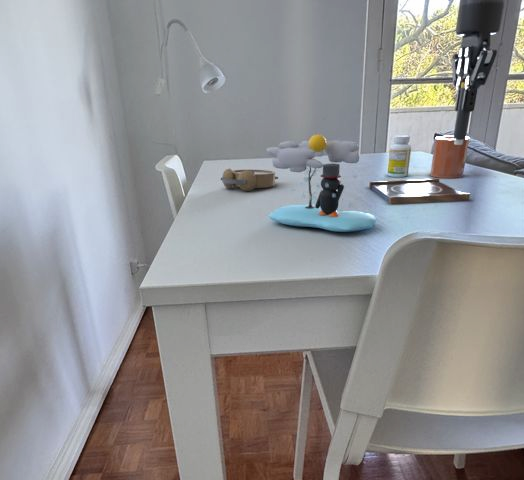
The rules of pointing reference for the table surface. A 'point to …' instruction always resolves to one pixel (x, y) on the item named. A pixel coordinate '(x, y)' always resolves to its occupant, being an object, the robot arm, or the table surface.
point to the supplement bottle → (399, 156)
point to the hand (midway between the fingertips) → (463, 110)
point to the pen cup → (448, 157)
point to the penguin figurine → (328, 199)
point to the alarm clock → (248, 179)
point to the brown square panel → (417, 191)
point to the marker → (461, 120)
